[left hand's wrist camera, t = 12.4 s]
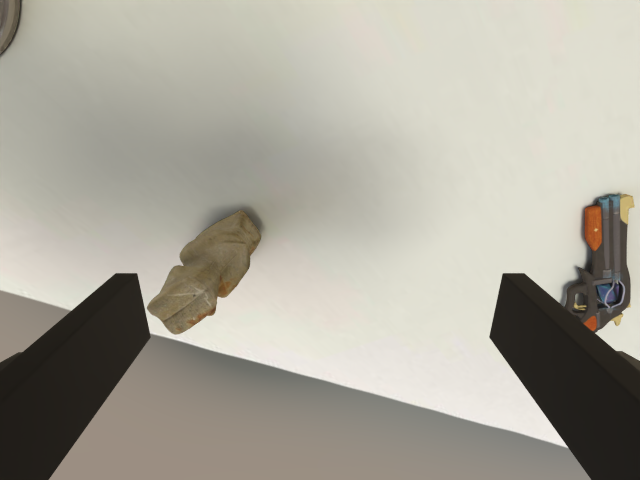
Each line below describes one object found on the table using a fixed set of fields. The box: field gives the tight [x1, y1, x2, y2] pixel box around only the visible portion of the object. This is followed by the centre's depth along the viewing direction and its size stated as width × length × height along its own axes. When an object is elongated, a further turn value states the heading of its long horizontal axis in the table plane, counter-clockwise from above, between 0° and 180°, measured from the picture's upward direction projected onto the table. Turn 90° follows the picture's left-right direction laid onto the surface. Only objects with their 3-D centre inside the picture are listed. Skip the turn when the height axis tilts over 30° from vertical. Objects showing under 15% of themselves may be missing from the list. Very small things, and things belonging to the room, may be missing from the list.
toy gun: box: [564, 194, 634, 333], centre depth 41 cm, size 3×19×10 cm
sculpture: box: [147, 210, 261, 334], centre depth 33 cm, size 6×7×15 cm
